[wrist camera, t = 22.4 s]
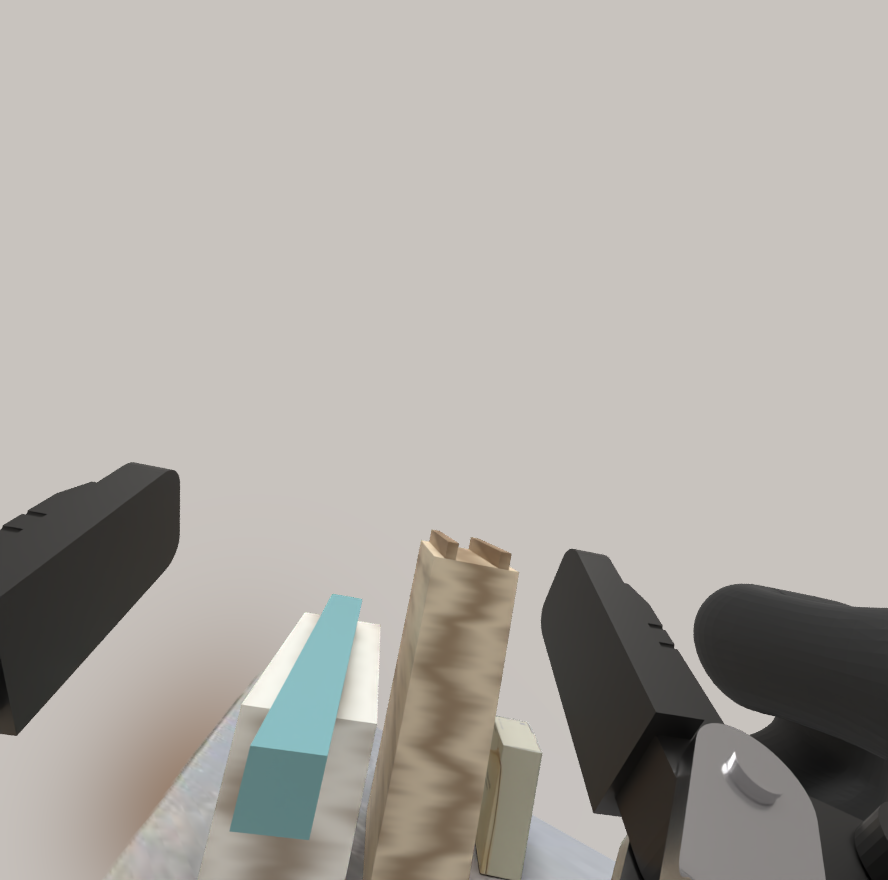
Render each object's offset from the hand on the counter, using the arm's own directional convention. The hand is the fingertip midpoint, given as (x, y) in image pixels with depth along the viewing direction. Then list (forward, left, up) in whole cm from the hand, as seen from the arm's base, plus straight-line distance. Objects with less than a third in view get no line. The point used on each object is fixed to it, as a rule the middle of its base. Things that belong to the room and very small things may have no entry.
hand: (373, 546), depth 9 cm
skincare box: (-19, -40, -34) cm, 56 cm away
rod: (+2, -23, -12) cm, 26 cm away
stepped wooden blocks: (-4, -31, -33) cm, 46 cm away
